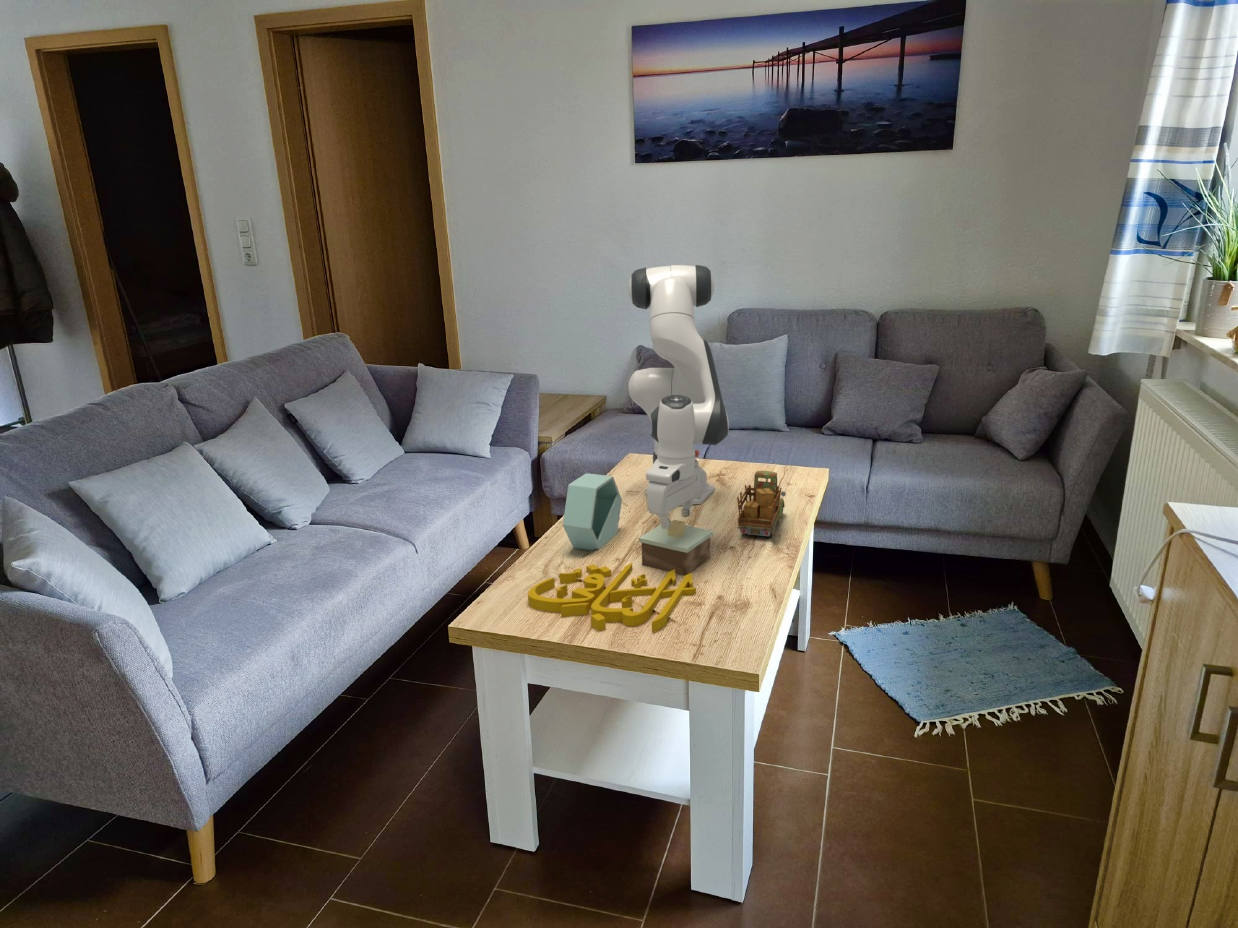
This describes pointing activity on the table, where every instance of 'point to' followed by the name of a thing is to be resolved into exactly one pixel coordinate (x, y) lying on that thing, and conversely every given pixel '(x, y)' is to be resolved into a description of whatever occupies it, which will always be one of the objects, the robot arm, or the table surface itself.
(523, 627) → the table surface
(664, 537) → the lid
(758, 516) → the toy truck
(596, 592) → the decorative art
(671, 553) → the walnut box
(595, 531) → the planter
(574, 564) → the table surface
